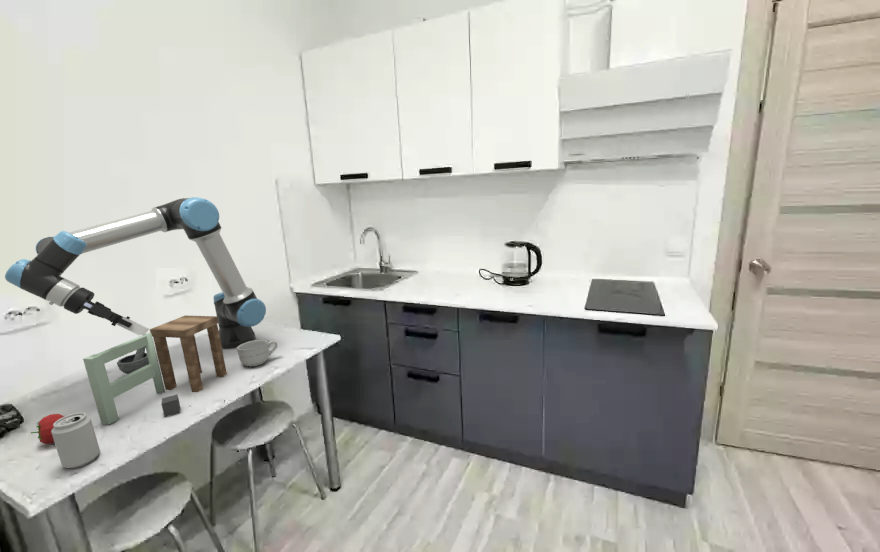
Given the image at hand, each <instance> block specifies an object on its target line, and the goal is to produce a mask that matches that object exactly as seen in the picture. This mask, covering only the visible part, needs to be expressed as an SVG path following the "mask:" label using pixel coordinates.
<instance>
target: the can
mask: <svg viewBox="0 0 880 552" xmlns="http://www.w3.org/2000/svg"><path fill="white" fill-rule="evenodd" d="M64 416H65V417H62V418H60V419H59V420H57V421H56V422H55V423H54V424H53V426H54V428H53V429H52V431H51V433H52V436H53V439H54V442H55V443H54V445H55V448H56V451H57V454H58V457H59V461H60V464H61V466H62V467H63V468H65V469H66V468H68V469H78V468H80V467H83V466H86V465H88V464H91V462H93V461H94V460H96V459H97V457H98V456H99V454H100V452H101V449H100V445H99V442H98V439H97V435H96V431H95V427H94V425H93V421H92V418H91V417H90V416H88V415H87V413H85V412H74V413H71V414H67V415H64Z"/></svg>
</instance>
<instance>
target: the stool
mask: <svg viewBox="0 0 880 552" xmlns="http://www.w3.org/2000/svg"><path fill="white" fill-rule="evenodd" d="M204 330H206V331H207V336H208V341H209V346H210V351H211V355H212V360H213V367H214V371H215V375H216V378H223V377H225V376H226V375H228V371H227V366H226V362H225V356H224V350H223V348H222V346H221V340H220V335H219V325H218V318H217V315H216V316H214V315H213V316H212V315H210V316H209V315H183V316H180V317H178V318H174V319H173V320H170V321H167V322H165V323H162V324H160V325H157V326H155V327H152V328H149V332H150V333H151V334H152V338H153V342H154V346H155V350H156V355H157V359H158V363H159V367H160V372H161V376H162V380H163V384H164V388H165V391H172V390H174V389H176V388H177V387H178V386H177V385H178V384H177V381H176V377H175V370H174V367H173V363H172V360H171V353H170V350H169V345H168V341H167V338H173V339H174V338H177V339H178V338H179V341H180V344H181V345H180V346H181V349H182V353H183V359H184V364H185V368H186V372H187V377H188V381H189V382H188V383H189V385H190V391H191V392H192V393H200V392H201V391H203V390H204V386H203V380H202V377H201V374H202V373H203V370H202V366H201V361H200V356H199V351H198V345H197V342H196V336H195V334H198V333H200V332H202V331H204ZM224 375H225V376H224Z"/></svg>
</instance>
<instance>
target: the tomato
mask: <svg viewBox="0 0 880 552" xmlns="http://www.w3.org/2000/svg"><path fill="white" fill-rule="evenodd" d="M65 416H66V415H63V414H60V413H51V414H49V415H46V416H43V417H42V418H41V419H40V420H39V421H37V423H36V428H38V429H37V430H38V431H31V432H30V434H38V436H37V438H38V440H39V442H40V443H42V444H43V445H51V444H52V445H53V444H55V442H54V439H53V436H52V433H51V431H52V429H53V428H54V426H53V424H54V423H55V422H56V421H57V420H59V419H60V418H62V417H65Z"/></svg>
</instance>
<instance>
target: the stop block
mask: <svg viewBox="0 0 880 552" xmlns="http://www.w3.org/2000/svg"><path fill="white" fill-rule="evenodd" d="M178 395H179V394H177V393H176V394H173V395H169V396H166V397H165V396H164V397H161V409H162V412H163V417H164V418H167V417H172V416H175V415H178V414H181V404H180V399H179V396H178Z"/></svg>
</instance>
